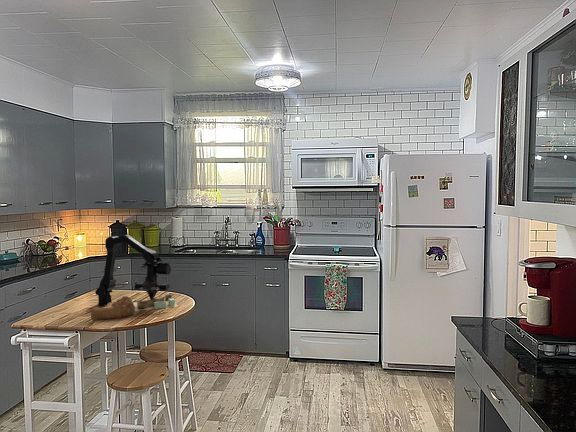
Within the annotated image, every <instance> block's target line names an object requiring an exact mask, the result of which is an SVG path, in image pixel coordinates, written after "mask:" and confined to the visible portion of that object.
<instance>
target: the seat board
mask: <svg viewBox="0 0 576 432" xmlns="http://www.w3.org/2000/svg"><path fill="white" fill-rule="evenodd" d="M164 296H165V297H164V301H166V308H168V309H169V308H174V307H175V308H176V307H179V306H178V304H177V303H176V302H175V306H170V305H169V300H168V299H170V298H173V297H172V296H173V295H172V294H171V293H166V294H165V295H164ZM137 302H138V301H136V302H135V301H134V302H133V304H134V306H135V312H139V311H140V312H141V311H150V310H156V309H155V308H154V306H150V307H146V308H143V309H138V308H137ZM166 308H165V309H166ZM158 309H160V308H158ZM158 309H157V310H158Z"/></svg>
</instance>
